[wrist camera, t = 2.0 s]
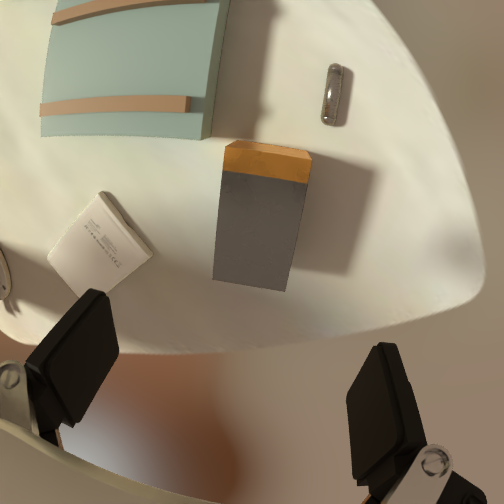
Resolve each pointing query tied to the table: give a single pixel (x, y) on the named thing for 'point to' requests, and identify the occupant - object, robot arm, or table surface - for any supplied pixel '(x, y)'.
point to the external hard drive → (98, 249)
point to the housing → (259, 213)
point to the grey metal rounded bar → (332, 94)
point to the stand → (133, 68)
